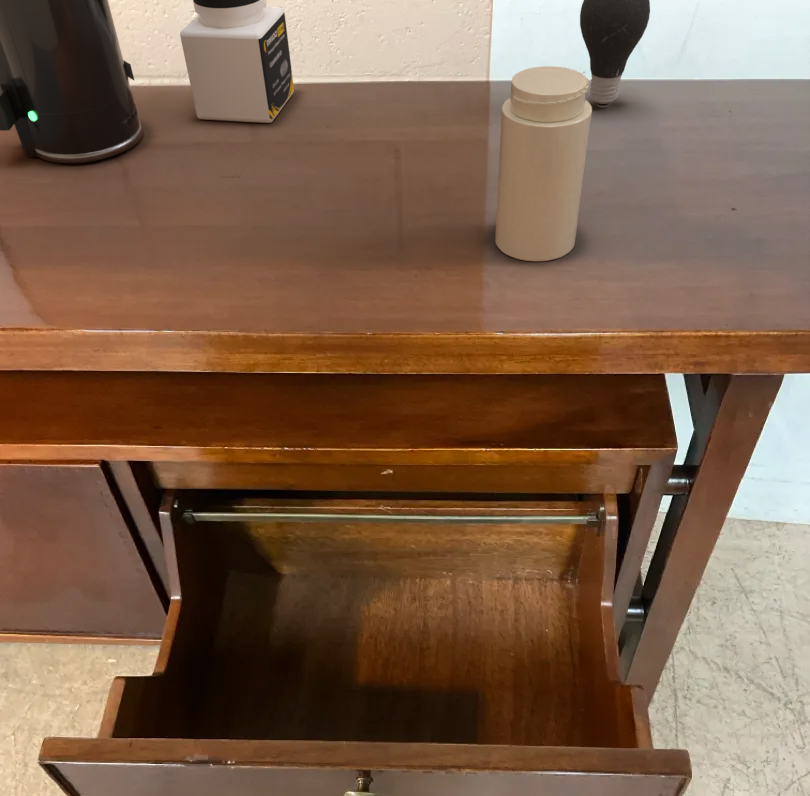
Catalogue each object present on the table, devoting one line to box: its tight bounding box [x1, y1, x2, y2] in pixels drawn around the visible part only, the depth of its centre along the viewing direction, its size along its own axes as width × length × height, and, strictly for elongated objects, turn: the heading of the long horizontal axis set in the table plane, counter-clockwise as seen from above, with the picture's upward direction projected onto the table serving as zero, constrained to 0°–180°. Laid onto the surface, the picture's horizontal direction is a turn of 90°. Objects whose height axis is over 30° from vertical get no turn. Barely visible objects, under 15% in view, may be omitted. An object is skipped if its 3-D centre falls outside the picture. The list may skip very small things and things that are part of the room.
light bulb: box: [579, 0, 651, 108], centre depth 71 cm, size 6×6×10 cm
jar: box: [494, 65, 593, 262], centre depth 55 cm, size 6×6×11 cm
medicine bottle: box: [179, 0, 295, 124], centre depth 72 cm, size 7×7×12 cm
